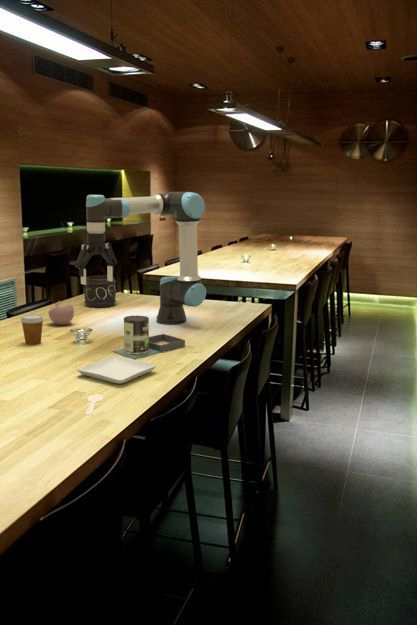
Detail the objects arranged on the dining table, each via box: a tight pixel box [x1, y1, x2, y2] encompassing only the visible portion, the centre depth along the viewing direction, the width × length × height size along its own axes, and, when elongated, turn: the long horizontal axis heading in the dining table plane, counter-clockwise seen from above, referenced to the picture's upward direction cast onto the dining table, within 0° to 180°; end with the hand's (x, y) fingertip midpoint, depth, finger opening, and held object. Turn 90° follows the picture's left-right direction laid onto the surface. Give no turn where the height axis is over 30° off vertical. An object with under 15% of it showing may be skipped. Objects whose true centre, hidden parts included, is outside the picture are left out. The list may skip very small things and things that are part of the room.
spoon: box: [84, 393, 105, 416], centre depth 191 cm, size 5×18×1 cm, turn 1°
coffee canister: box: [83, 275, 118, 309], centre depth 339 cm, size 18×18×16 cm
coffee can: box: [123, 315, 150, 354], centre depth 248 cm, size 10×10×14 cm
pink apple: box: [48, 300, 75, 326], centre depth 293 cm, size 12×12×11 cm
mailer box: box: [112, 333, 186, 360], centre depth 254 cm, size 28×14×3 cm, turn 136°
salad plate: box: [76, 355, 157, 385], centre depth 220 cm, size 21×21×3 cm
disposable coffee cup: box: [20, 313, 45, 346], centre depth 258 cm, size 10×10×12 cm
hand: (97, 282), depth 256 cm, fingers open, 13 cm apart
